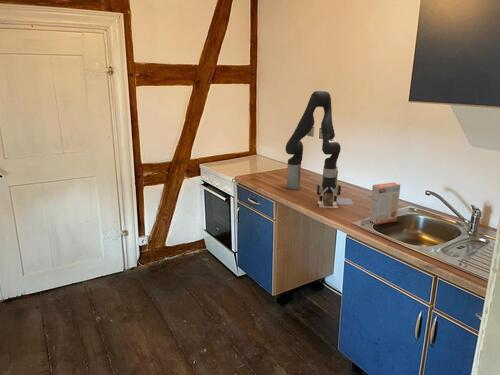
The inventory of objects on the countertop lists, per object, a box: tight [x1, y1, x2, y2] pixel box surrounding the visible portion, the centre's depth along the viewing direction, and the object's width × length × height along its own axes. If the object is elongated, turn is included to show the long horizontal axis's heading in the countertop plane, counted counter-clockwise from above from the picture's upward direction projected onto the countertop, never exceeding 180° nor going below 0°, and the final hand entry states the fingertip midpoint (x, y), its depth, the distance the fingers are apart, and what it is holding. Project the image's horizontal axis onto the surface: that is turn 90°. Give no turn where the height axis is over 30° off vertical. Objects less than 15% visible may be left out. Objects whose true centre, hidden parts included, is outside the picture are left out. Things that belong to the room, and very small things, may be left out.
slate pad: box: [336, 197, 355, 206], centre depth 236 cm, size 10×12×1 cm
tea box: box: [321, 165, 339, 192], centre depth 263 cm, size 15×10×15 cm
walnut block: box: [322, 191, 335, 206], centre depth 230 cm, size 5×7×8 cm
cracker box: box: [369, 181, 401, 225], centre depth 201 cm, size 14×6×21 cm, turn 111°
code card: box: [317, 201, 339, 209], centre depth 231 cm, size 11×11×1 cm
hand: (327, 201), depth 230 cm, fingers open, 7 cm apart
